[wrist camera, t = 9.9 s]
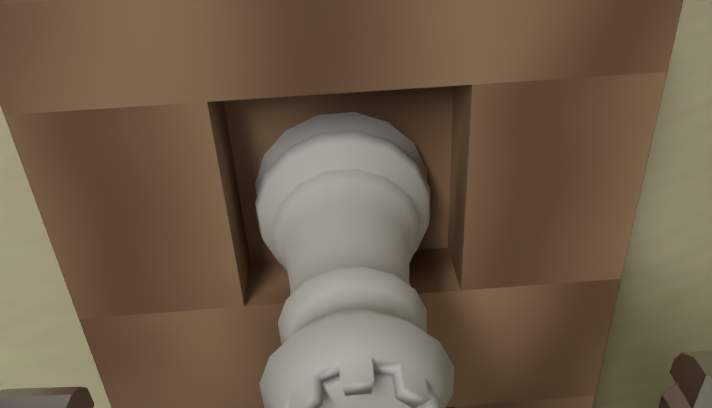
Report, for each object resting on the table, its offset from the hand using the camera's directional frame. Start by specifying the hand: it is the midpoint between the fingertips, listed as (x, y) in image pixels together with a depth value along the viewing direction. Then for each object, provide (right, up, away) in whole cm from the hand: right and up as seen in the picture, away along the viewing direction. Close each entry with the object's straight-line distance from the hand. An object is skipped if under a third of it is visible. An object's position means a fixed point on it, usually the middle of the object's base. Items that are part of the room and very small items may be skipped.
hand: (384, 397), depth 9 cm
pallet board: (-1, 0, +11) cm, 11 cm away
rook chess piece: (-1, +3, +8) cm, 9 cm away
